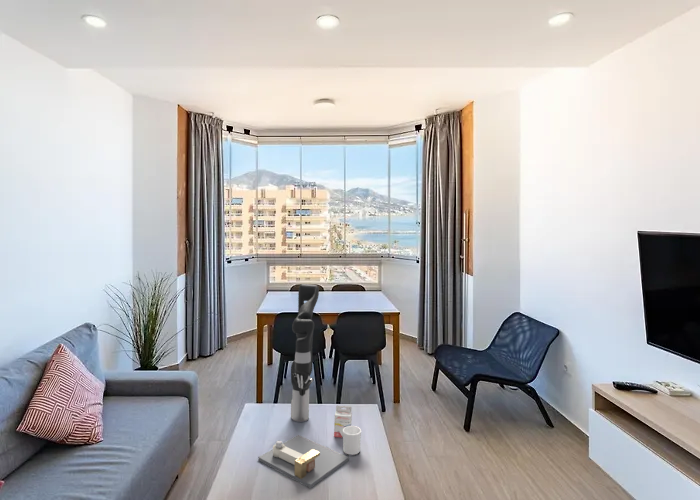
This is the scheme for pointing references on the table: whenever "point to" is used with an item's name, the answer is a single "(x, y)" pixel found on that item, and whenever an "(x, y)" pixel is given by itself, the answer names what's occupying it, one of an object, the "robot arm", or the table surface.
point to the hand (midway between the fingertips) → (302, 395)
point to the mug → (351, 440)
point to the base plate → (323, 463)
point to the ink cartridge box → (342, 420)
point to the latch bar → (290, 455)
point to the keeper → (304, 462)
